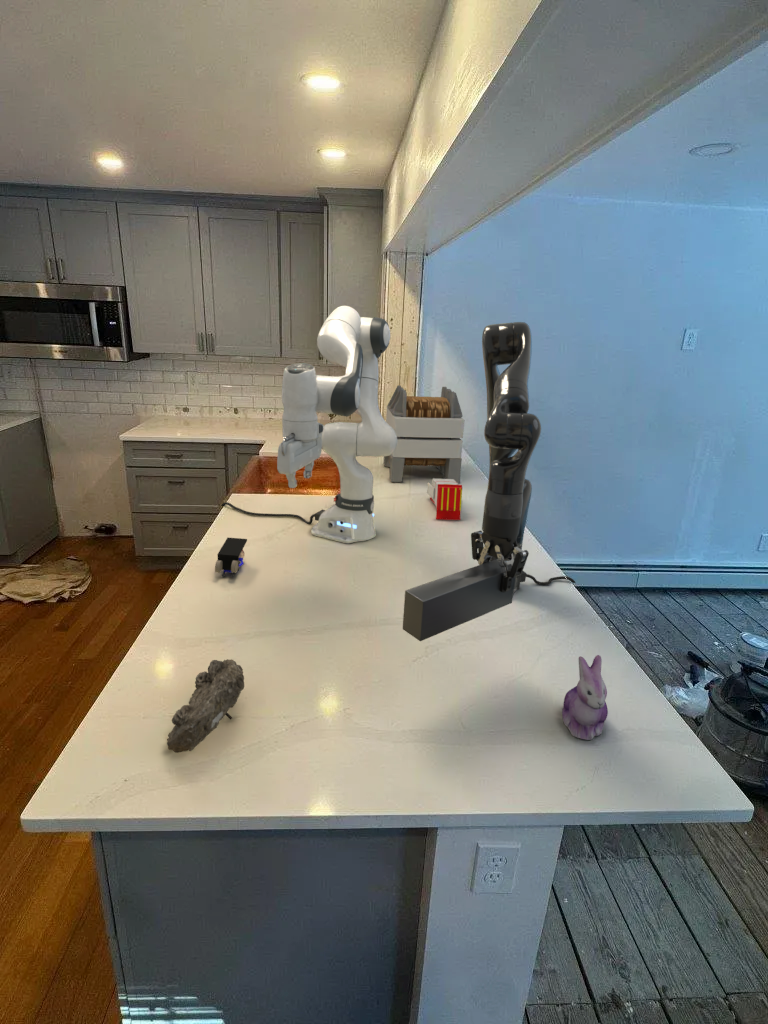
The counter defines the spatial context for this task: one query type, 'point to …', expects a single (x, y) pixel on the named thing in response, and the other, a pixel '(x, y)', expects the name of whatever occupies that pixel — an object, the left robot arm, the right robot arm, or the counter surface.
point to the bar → (454, 600)
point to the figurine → (586, 702)
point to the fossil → (206, 705)
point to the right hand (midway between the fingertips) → (493, 585)
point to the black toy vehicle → (230, 556)
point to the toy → (446, 498)
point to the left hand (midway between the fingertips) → (300, 482)
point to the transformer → (425, 433)
